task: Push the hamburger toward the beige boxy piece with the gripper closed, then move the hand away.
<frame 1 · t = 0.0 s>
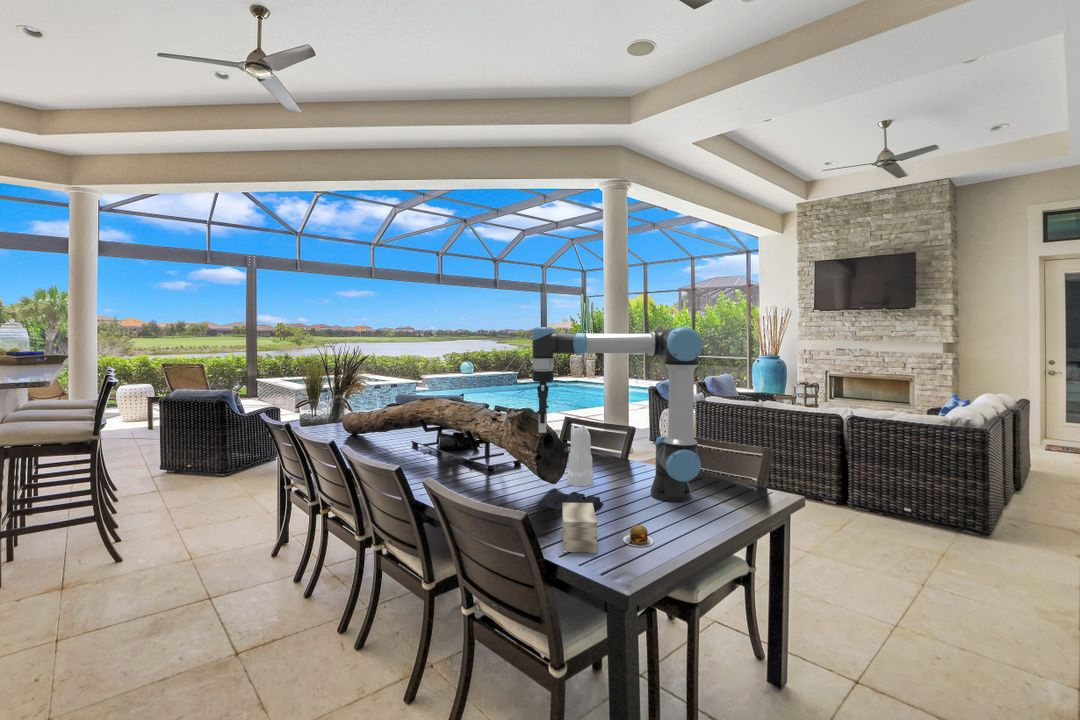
hand: (542, 429, 182), 28 cm above the table, tool pointing down, fingers open, 13 cm apart
decorative vase: (580, 483, 213), on the table
beige boxy piece: (578, 540, 152), on the table
dark piece: (570, 507, 185), on the table
hamburger: (638, 544, 151), on the table
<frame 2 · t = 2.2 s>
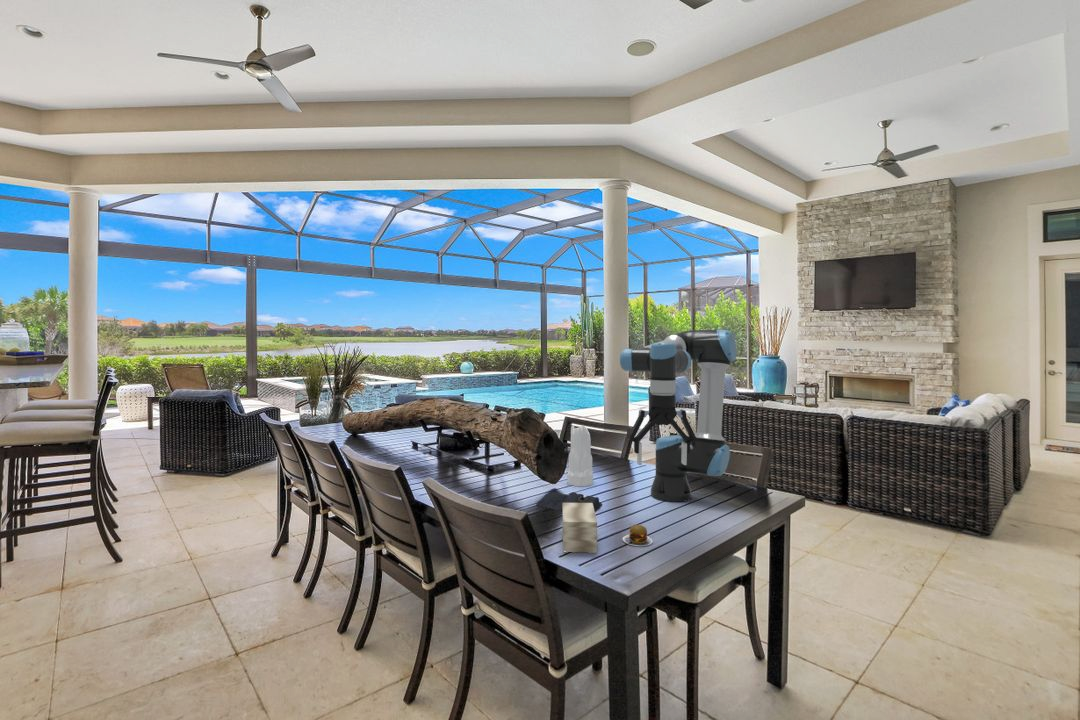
hand: (661, 464, 153), 23 cm above the table, tool pointing down, fingers open, 13 cm apart
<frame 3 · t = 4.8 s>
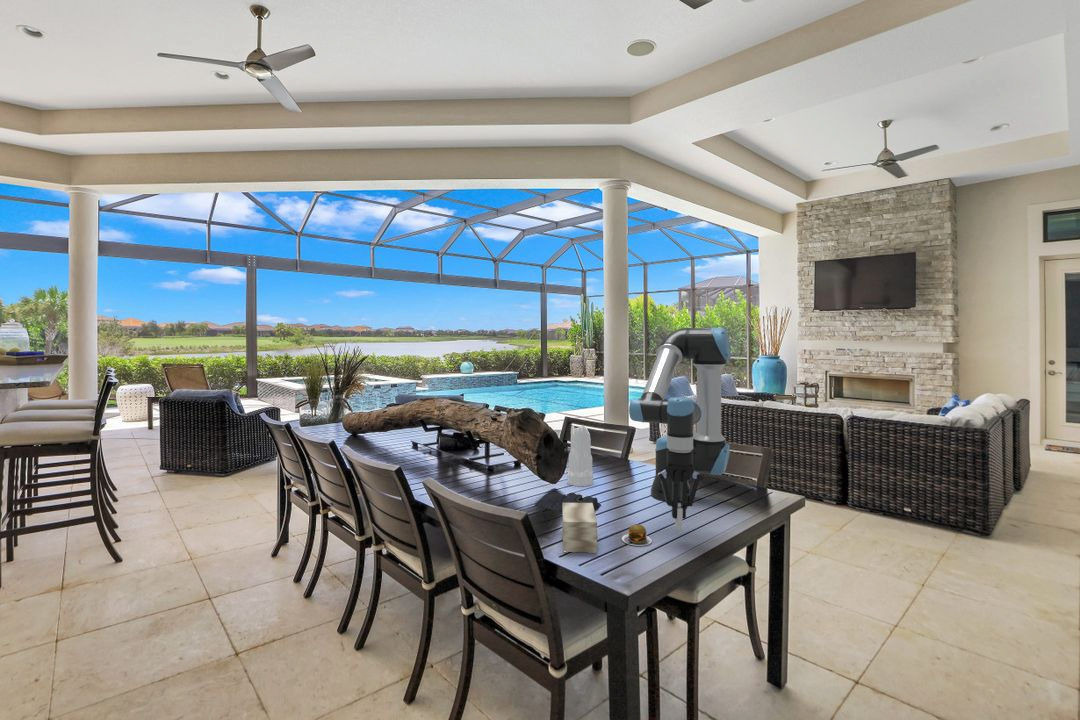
hand: (678, 528, 150), 4 cm above the table, tool pointing down, fingers closed
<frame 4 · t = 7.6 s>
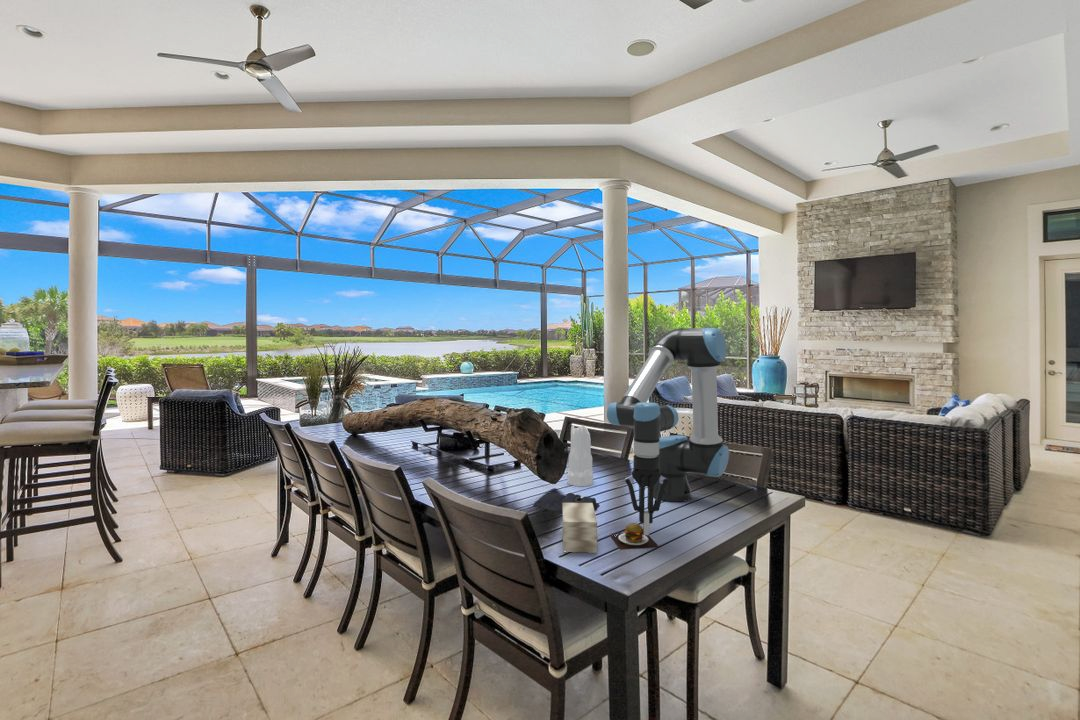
hand: (645, 533, 151), 2 cm above the table, tool pointing down, fingers closed
hamburger: (633, 542, 152), on the table
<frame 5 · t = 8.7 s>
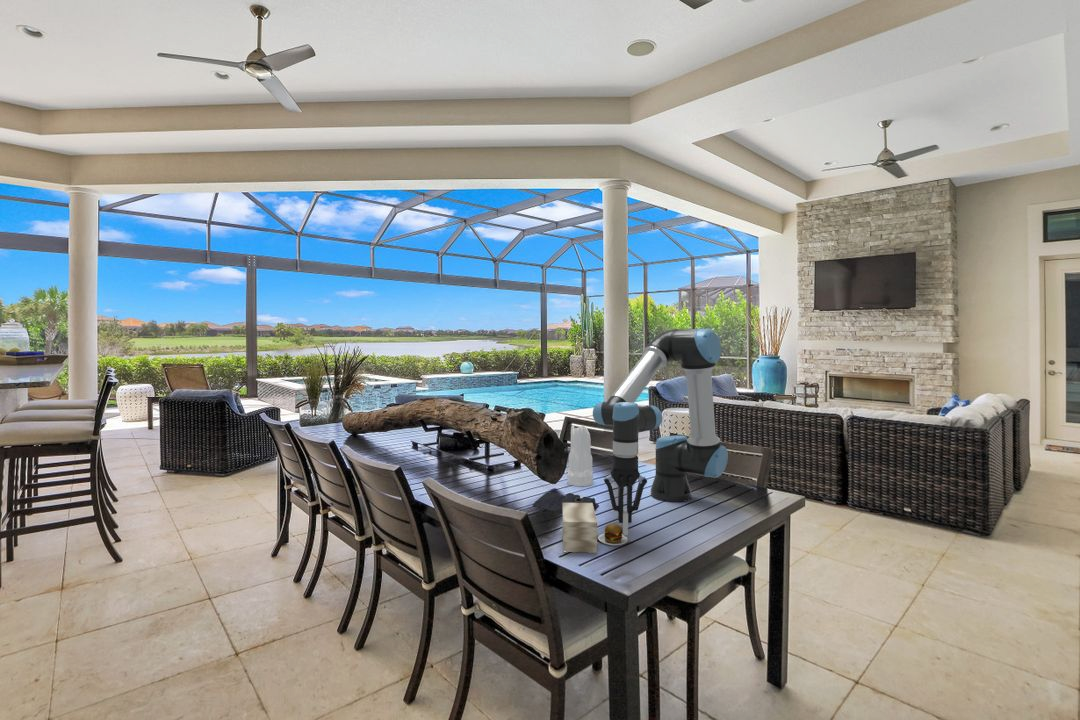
hand: (624, 533, 151), 2 cm above the table, tool pointing down, fingers closed
hamburger: (612, 542, 152), on the table, touching gripper
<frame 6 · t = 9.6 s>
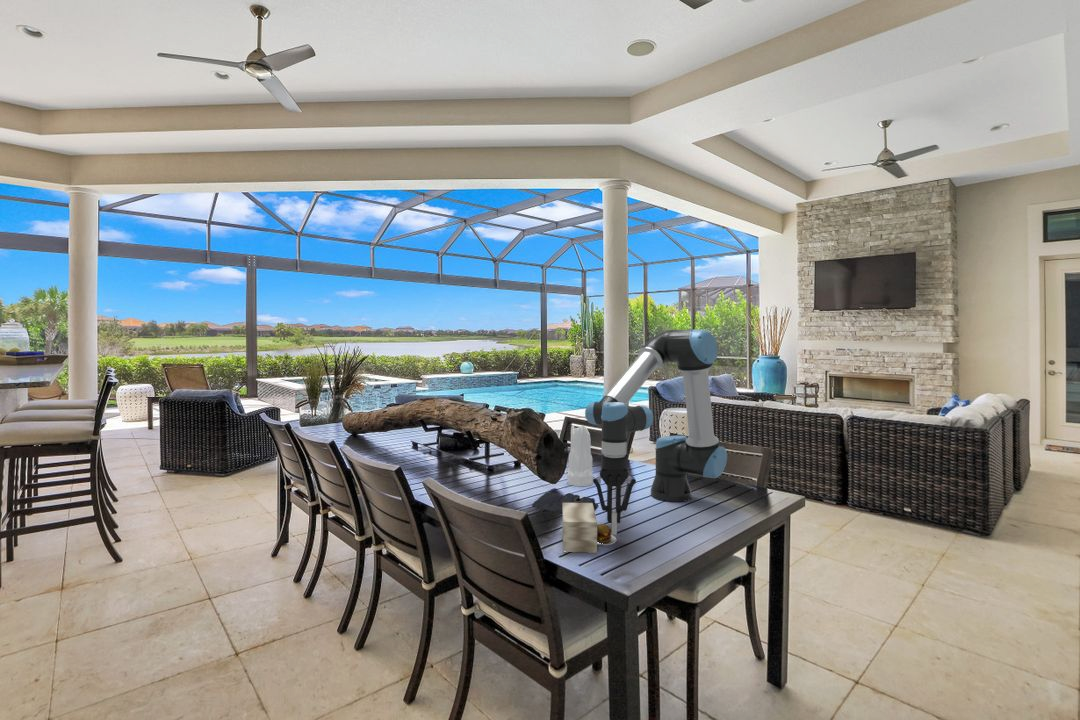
hand: (613, 533, 151), 2 cm above the table, tool pointing down, fingers closed
hamburger: (601, 542, 152), on the table, touching gripper
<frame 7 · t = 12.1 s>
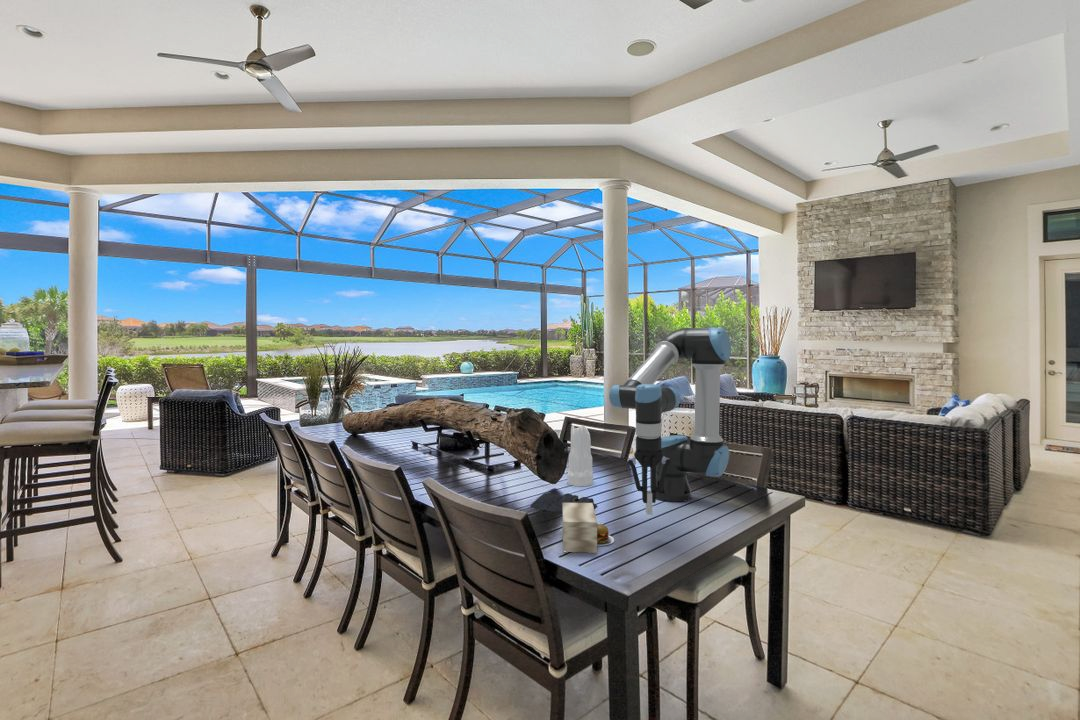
hand: (649, 513, 153), 8 cm above the table, tool pointing down, fingers closed
hamburger: (599, 543, 152), on the table
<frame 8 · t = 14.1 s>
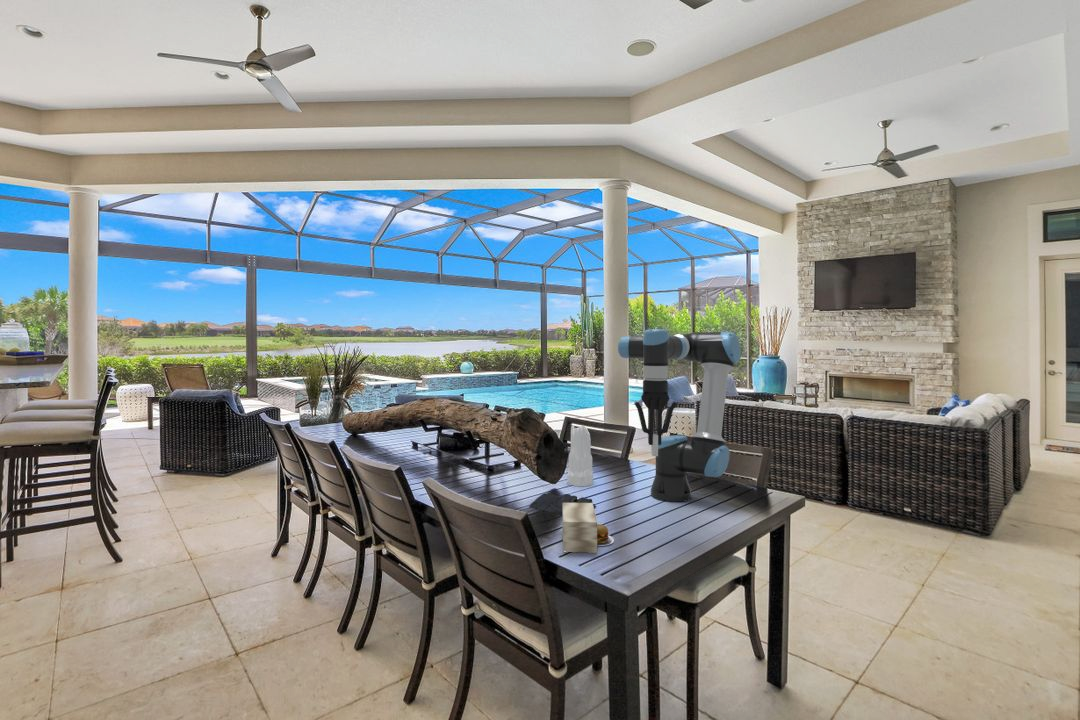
hand: (654, 455, 157), 24 cm above the table, tool pointing down, fingers closed
at the end: hamburger 0.9 cm from the target spot on the beige boxy piece, point -0.9 cm above the beige boxy piece's base; hamburger tilted 0° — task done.
